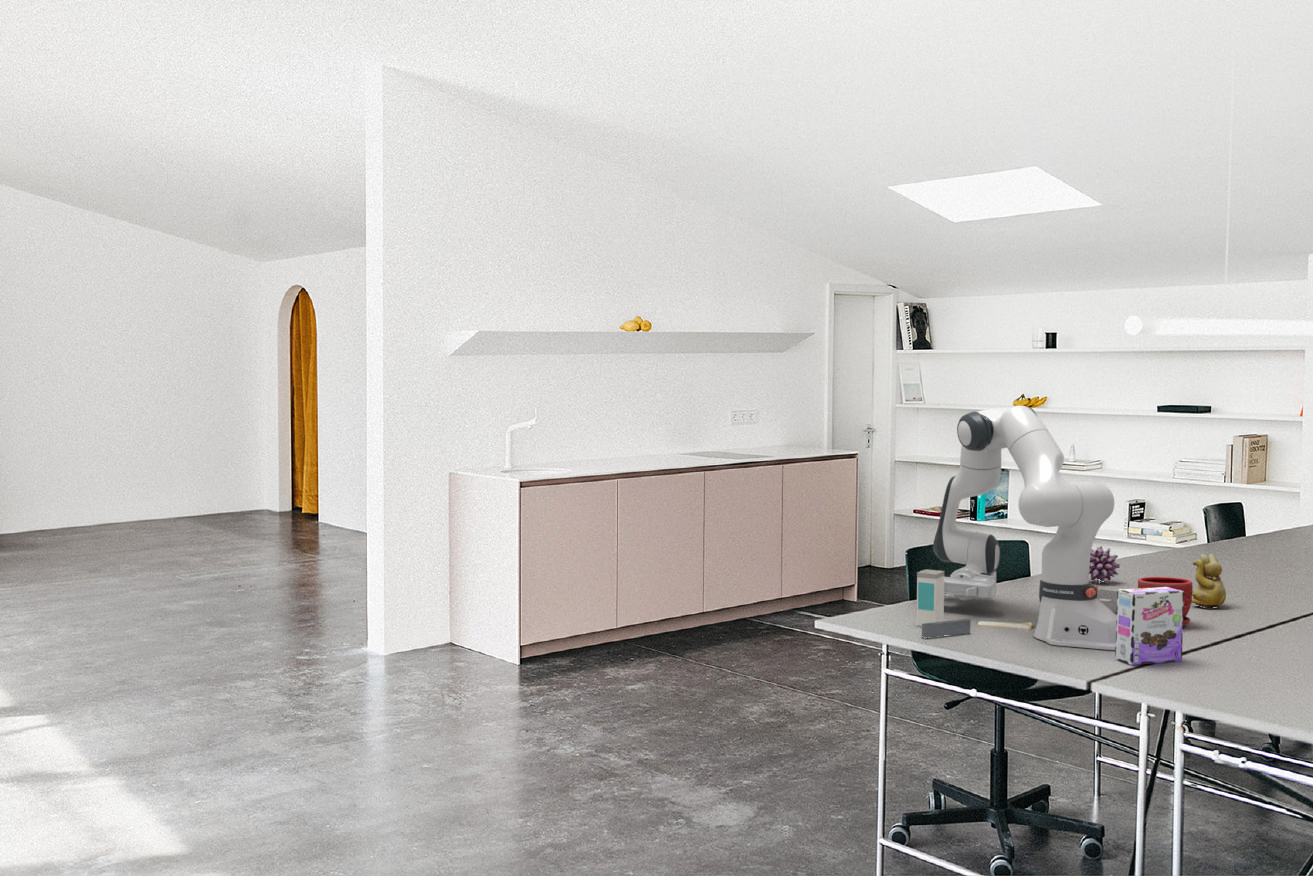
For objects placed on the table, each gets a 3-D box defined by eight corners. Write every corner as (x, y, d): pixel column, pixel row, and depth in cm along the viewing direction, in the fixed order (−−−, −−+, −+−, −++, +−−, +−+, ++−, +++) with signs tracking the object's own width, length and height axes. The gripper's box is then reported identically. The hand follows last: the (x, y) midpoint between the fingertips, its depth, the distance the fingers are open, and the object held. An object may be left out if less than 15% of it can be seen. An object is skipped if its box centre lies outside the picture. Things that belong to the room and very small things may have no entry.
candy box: (1131, 665, 255) (1132, 592, 254) (1114, 659, 261) (1115, 588, 260) (1183, 662, 259) (1185, 590, 258) (1165, 655, 264) (1166, 585, 263)
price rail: (921, 637, 283) (921, 623, 282) (965, 632, 289) (965, 618, 288) (925, 639, 281) (925, 625, 281) (970, 633, 287) (970, 619, 287)
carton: (943, 624, 298) (944, 571, 298) (935, 628, 293) (935, 574, 293) (925, 621, 301) (925, 569, 301) (916, 625, 296) (916, 572, 296)
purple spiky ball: (1079, 585, 356) (1080, 547, 356) (1081, 579, 367) (1081, 542, 367) (1119, 588, 352) (1120, 549, 351) (1119, 581, 363) (1120, 544, 362)
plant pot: (1195, 623, 300) (1196, 578, 300) (1186, 632, 289) (1187, 585, 289) (1142, 617, 308) (1143, 573, 307) (1132, 626, 297) (1133, 580, 296)
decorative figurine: (1204, 603, 328) (1205, 551, 327) (1233, 607, 321) (1234, 554, 320) (1186, 607, 322) (1187, 554, 321) (1215, 611, 315) (1216, 557, 315)
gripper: (930, 569, 324) (911, 575, 313) (1001, 575, 313) (984, 583, 301) (929, 591, 325) (911, 598, 313) (1001, 598, 313) (984, 606, 302)
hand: (947, 591), depth 307 cm, fingers open, 8 cm apart
